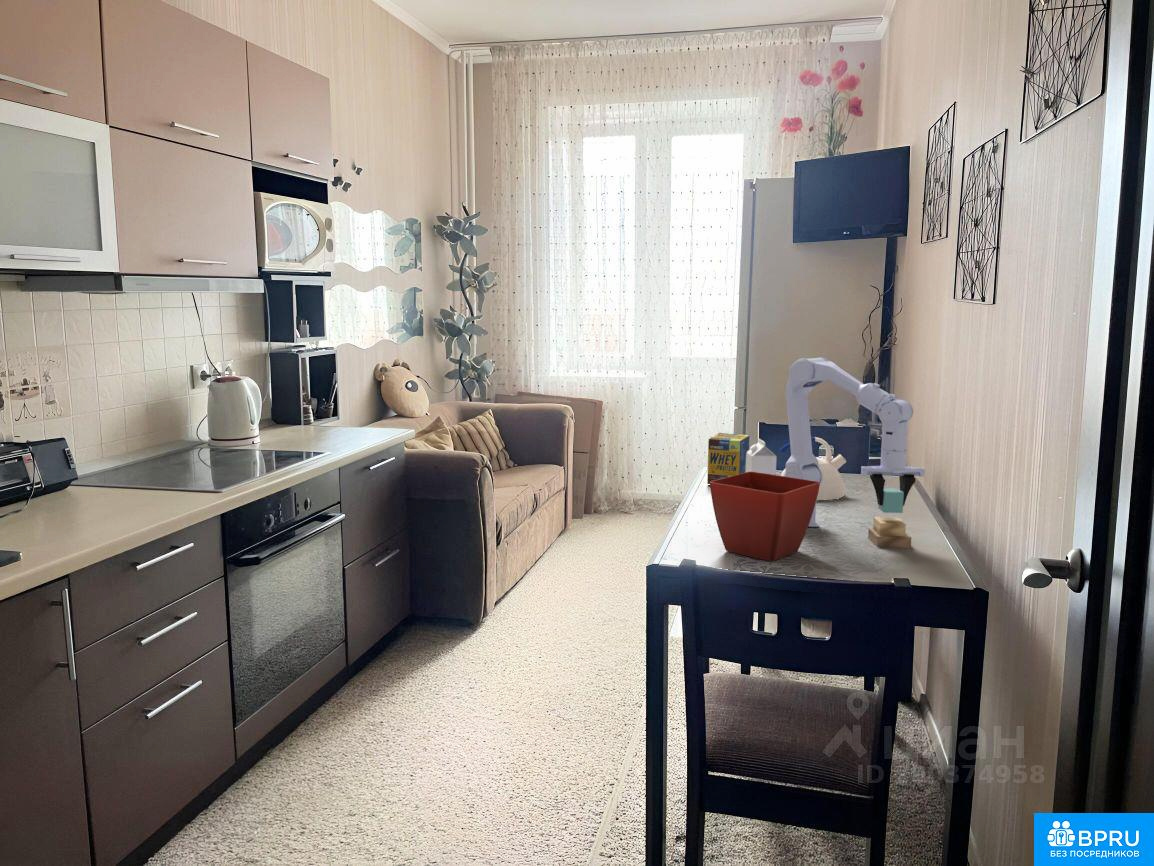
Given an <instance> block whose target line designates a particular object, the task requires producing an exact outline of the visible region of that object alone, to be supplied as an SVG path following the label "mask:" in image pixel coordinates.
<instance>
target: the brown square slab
mask: <svg viewBox="0 0 1154 866" xmlns="http://www.w3.org/2000/svg"><path fill="white" fill-rule="evenodd" d="M867 533H868V534H867V535H868V536H867V538H868V539H869V541H870V542H871V543H872V544H873V545H875V547H879V548H912V536H910V535H909V534H908V533H907V532H906V531H905V536H886V535H879V534H878V533H877V532H876V531H875V530H874V529H873V527H869V528H868V532H867Z"/></svg>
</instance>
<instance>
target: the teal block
mask: <svg viewBox="0 0 1154 866" xmlns="http://www.w3.org/2000/svg"><path fill="white" fill-rule="evenodd" d="M903 498H904V492H902V491H901V490H900V488H884V491H883V505H879V504H878V507H877V508H878V509H879V510H880V511H881V512H882V513H884V514H885V513H888V514H890V513H892V514H898V513H899V514H903V512H904V506H903Z"/></svg>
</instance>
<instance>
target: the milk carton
mask: <svg viewBox="0 0 1154 866" xmlns="http://www.w3.org/2000/svg"><path fill="white" fill-rule="evenodd" d="M777 457H778V456H777V455H776V454H775V453H774V452H773V451H771V450H770V449H769V448H768V447H767V446H766V442H765V441H764V440H762V439H761V438H758V442H757V443H754V444H752V445H751V446H749V451H748V452H747V456H746V472H759V473H765V474H772V475H777Z"/></svg>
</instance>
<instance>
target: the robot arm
mask: <svg viewBox="0 0 1154 866" xmlns="http://www.w3.org/2000/svg"><path fill="white" fill-rule="evenodd" d="M788 371H789V372H788V373H789V376H788V380H787V383H786V386H785V399H786V400H785V401H786V411H787V423H788V433H789V434H788V435H789V443H790V448H789V449H790V457H789V458H788V460H786V463H785V468H786V471H785V474H784V476H785V477H791V478H798V479H804V480H811V481H817V482H820V484H821V482H822V479H823V474H822V471H821V469H820V467H819V464H818V459H817V458H816V457H817V456H815V454H813V445H812V444H813V442H812V441H811V437H812V434H811V422H810V421H811V419H810V411H809V410H810V409H809V400H808V399H809V398H808V395H809V393H811V391H812V390H813V389H814V388H815V387H816V386H817V385H820V384H822V383H824V382H831V383H832V384H834V385H836V386H838V387H840V388H841V389H843V390H845V391H847V392H849V393H850V394H852V395H854V396H855V399H856V402H857V403H858V404H859V405H861V406H863V407H864V408H866V409H867V410H869V411H871V412H872V413H874V414H876V415H877V416H878V419H879V420H880V421H881V425H882V427H881V429H882V432H881V433H882V434H881V449H880V450H881V451H880V465H869V466H868V465H867V466H865V465H864V466H863V465H862V466H860V469H861V470H860V474H861V475H862V476H869V479H870V480H871V482H872V484H873V487H874V491H875V494H876V500H877V505H878V506H879V505H883V491H884V489H885V485H886V484H885V483H886V479H885V478H884V476H898V478H899V490H901V491H902V492H904V498H903V507H904V506H906V505H905V504H906V500H907V497H908V495H909V493H910V491H911V489H912V487H913V485H914V484H915V482H916V477H925V476H926V475H925V474H926V472H925V471H926V469H925V468H924V467H923V466H920V467H919V466H918V467H917V466H906V465H907V464H906V463H907V451H908V432H909V431H908V430H909V421H911V419H912V417H913V415H914V408H913V405H912V404H911V402H909V401H908V400H907V399H905V398H896V394H894V393H888V392H887V391H885V390H884V389H882V388H880V387H881V385H880V384H878V383H877V382H874V383H872V382H868V383H864V382H863V383H862V382H861V381H860V380H858V379H857V378H856V377H854V376H853V375H851V374H849V373H848V372H846V371H845V370H843V369H842V368H841V367H839V366H838V365H837V364H836V363H835V362H833V361H830V360H828V359H827V358H825V357H823V356H822V357H815V358H805V357H804V358H799V359H797V360H795V362H793V364H791V365H790V367H789V368H788ZM816 512H817V502H816V503H815V507H814V510H813V514H812V517H811V520H810V523H809V525H808V528H819V527H820V524H819V523H818V522H817V520H816V518H817V513H816Z"/></svg>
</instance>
